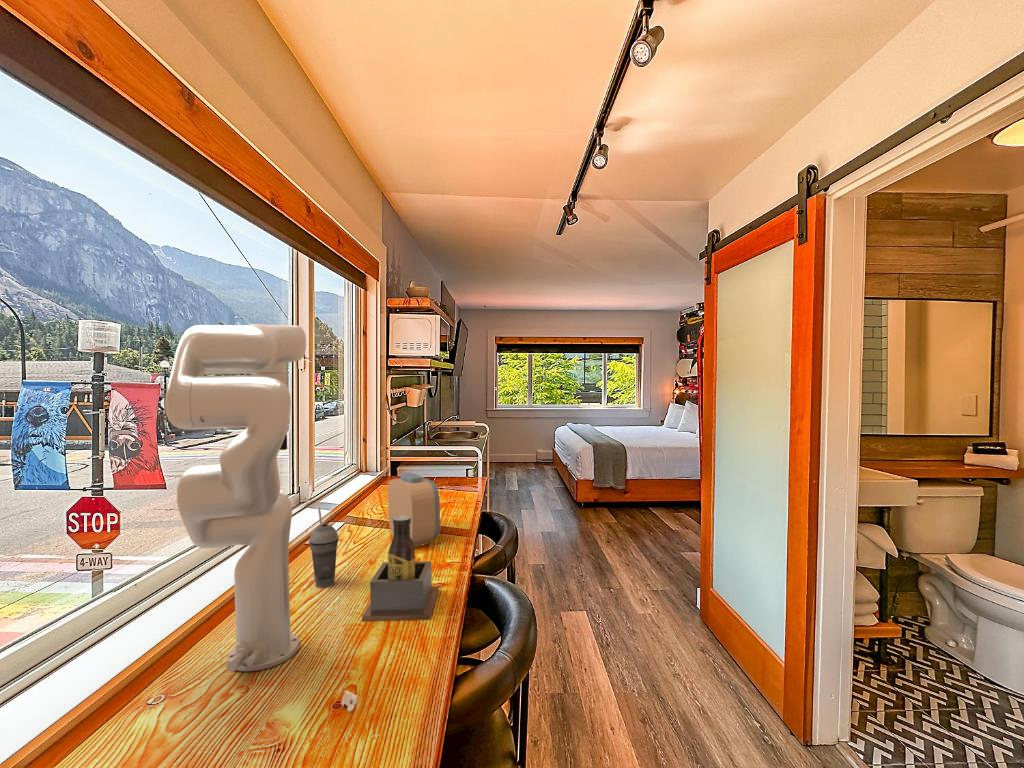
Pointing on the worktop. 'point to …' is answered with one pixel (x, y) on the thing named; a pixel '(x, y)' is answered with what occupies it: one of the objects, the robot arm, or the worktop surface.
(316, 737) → the worktop surface
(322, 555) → the beverage cup
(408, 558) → the sauce bottle
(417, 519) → the alarm clock
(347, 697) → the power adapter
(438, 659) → the worktop surface
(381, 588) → the grey square open box
